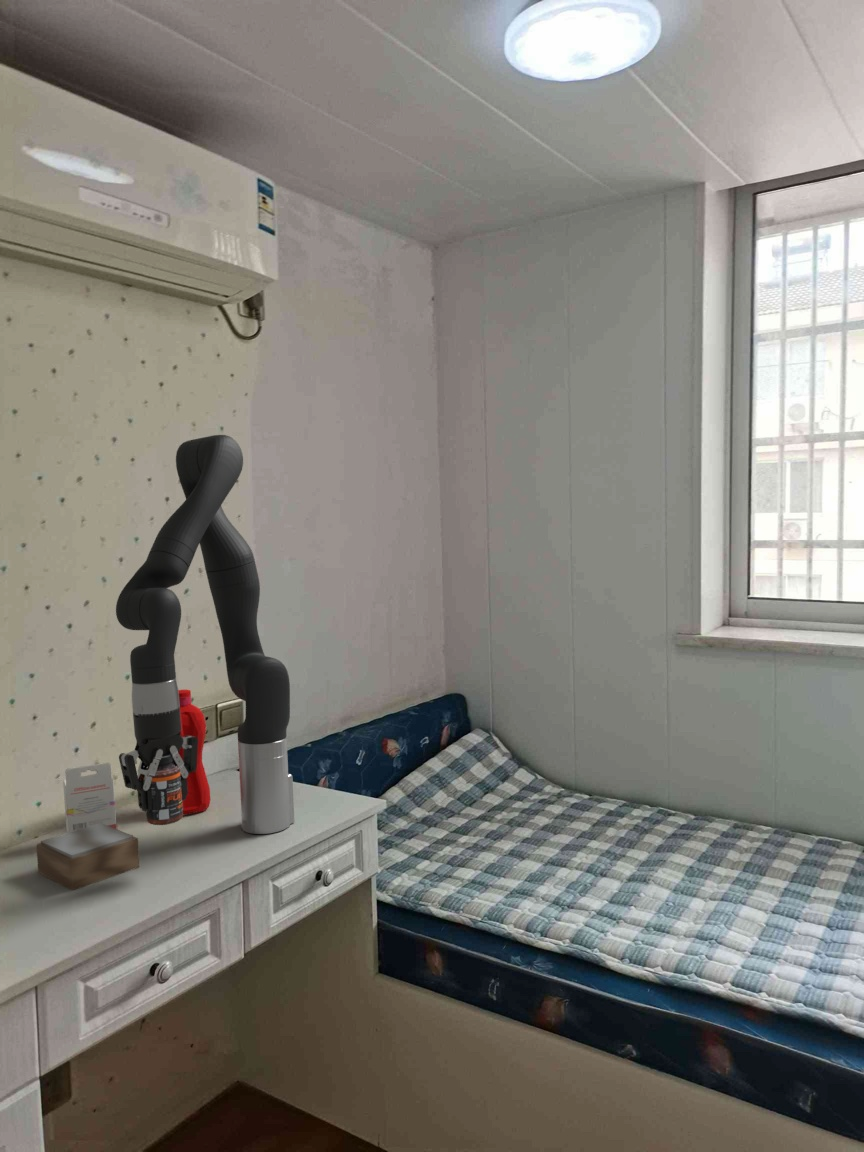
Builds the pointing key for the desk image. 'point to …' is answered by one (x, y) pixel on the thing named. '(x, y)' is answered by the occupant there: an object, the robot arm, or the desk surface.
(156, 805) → the supplement bottle
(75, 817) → the ink cartridge box
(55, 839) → the wooden rimmed tray
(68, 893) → the desk surface
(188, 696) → the water bottle
